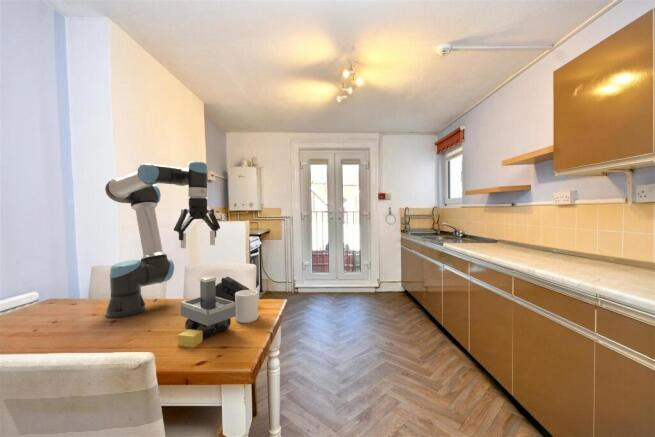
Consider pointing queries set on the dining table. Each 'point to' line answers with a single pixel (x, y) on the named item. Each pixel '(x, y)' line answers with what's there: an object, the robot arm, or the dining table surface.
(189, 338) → the block
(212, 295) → the grey tall block
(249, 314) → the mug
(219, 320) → the grey open rectangular container
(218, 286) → the tool
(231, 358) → the dining table surface
